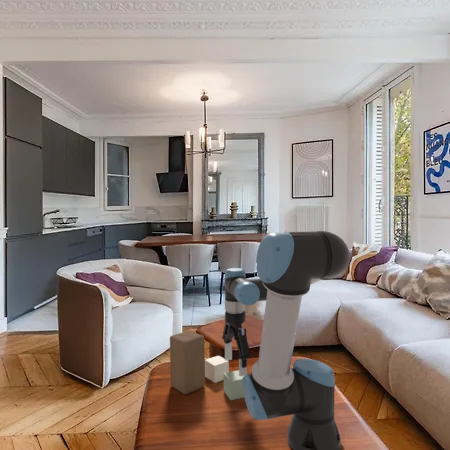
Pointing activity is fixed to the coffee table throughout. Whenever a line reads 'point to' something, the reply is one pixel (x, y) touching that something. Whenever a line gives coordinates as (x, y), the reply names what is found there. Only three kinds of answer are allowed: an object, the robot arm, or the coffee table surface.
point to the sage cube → (233, 385)
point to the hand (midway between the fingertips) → (235, 367)
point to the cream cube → (216, 368)
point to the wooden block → (187, 361)
